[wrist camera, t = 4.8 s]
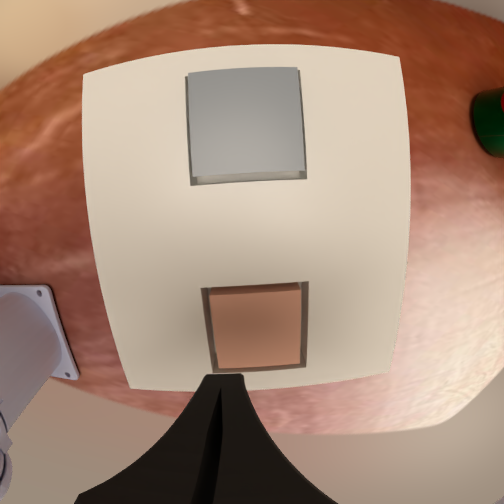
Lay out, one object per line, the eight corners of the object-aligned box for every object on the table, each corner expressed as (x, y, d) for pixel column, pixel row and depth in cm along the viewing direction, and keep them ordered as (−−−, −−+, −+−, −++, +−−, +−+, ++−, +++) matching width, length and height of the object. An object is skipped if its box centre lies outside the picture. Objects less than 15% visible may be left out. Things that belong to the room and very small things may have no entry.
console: (142, 361, 19) (130, 388, 16) (106, 87, 14) (83, 74, 11) (372, 347, 19) (389, 372, 16) (376, 71, 14) (399, 57, 11)
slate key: (200, 176, 13) (192, 177, 11) (195, 85, 12) (188, 72, 10) (296, 170, 13) (304, 170, 11) (290, 80, 12) (297, 67, 10)
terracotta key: (221, 348, 17) (219, 368, 15) (213, 281, 16) (209, 295, 14) (294, 344, 17) (299, 363, 15) (294, 276, 16) (300, 289, 14)
